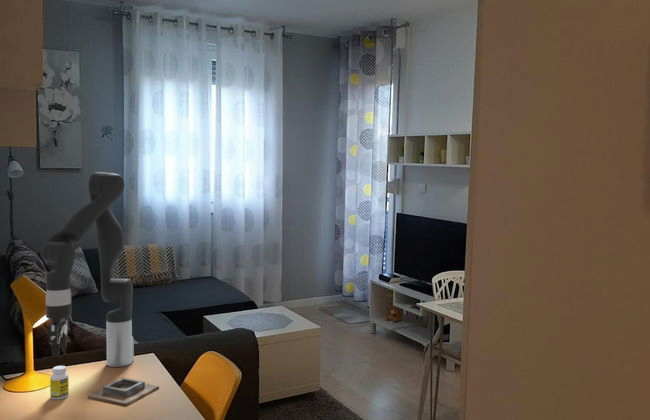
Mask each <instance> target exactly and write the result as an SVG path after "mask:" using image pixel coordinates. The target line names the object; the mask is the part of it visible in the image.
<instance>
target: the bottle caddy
mask: <svg viewBox="0 0 650 420" xmlns="http://www.w3.org/2000/svg"><path fill="white" fill-rule="evenodd" d="M158 389H160V386H159V385H156V384H152V383H151V384H150V383H146V382H145V381H143V380H138V379H133V378H128V377H121V378H119V379H117V380H115V381H113V382H111V383H109V384H106V385H104V386H102V388H100V389H98V390H96V391H94V392H92V393H90V394H88V395H87V399H92V400H96V401H101V402H105V403H106V402H107V403H110V404H116V405H120V406H124V407H127V406H130V404H132V403H134V402H137V401H138V400H140V399H142V398H144V397H145V396H147V395H150V394H152V393H153V392H155V391H157V390H158Z"/></svg>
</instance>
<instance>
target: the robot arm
mask: <svg viewBox="0 0 650 420" xmlns="http://www.w3.org/2000/svg"><path fill="white" fill-rule="evenodd" d="M87 187H88V193H89V198H90V202H89V203H87V204H85V205H84V206H82V207H81V208H79V209H78V210H77V211H75V212H74V213H73V214H71V216H70V217H69V218H68V220H67V221H66V223H64V225H63V227H61V229H59V230H58V231H57V232H55V233H54V234H53V235H52V236H51V237H48V238H49V239H47V240H46V241H45V242H44V243H43V245H42V246H41V249H40V258H41V259H42V261H44V262H45V263H50V264H56V265H55V268H54V269H55V270H54V269H53V270H50V271H48V272H47V273H46V289H45V290H46V292H45V317H46V318H47V319H48V320H52V322H51V324H49V325H48V345H51V346H50V347H51V356H53V357H55V356H56V357H58V356H59V355H60V349H65V348H67V336H68V333H69V331H70V330H69V317H71V316H72V291H71V274H72V271H73V267H74V264H75V259H76V249H75V247H74V244H78V243H80V241H81V240H83V237H84V236H85V235H86V233H87V232H88V231H89V229H90V228H91V227H92V226H93V224H94V223H95V230H96V232H95V233H96V243H97V249H98V250H97V251H98V257H99V265H100V267H99V268H100V292H101V293H100V294H101V297H102V300H103V301H104V302H105V303H112V304H113V303H114V304H115V303H116V304H117V303H118V304H119V303H120V307H118V308H116V309H114V310H110V311H108V312H107V313H106V317H105V318H106V320H105V322H106V323H105V325H106V366H107V367H111V368H119V367H122V368H123V367H126V366H128V365H131V364H132V363H133V361H135V359H134V356H135V352H134V350H135V348H134V347H135V346H134V342H135V341H134V336H133V327H132V326H133V325H132V324H133V322H132V321H133V320H132V319H133V317H132V316H133V294H134V286H133V282H132V279H130V278H113V269H114V267H115V265H116V262H117V261H118V259H119V258H120V256H121V254H122V253H123V250H124V247H125V241H124V240H125V239H124V233H123V227H122V226H121V224H120V223H119V221H118V219H117V218H116V216H115V215H114V214H113V212H112V211H111V208H110V207H111V205H112V204H113V203H115V201H117V200H118V199H119V198H120V196H121V195H122V194H123V192H124V189H125V180H124V178H123V177H122V175H120V174H118V173H115V172H114V173H113V172H104V171H102V172H101V171H94V172H92V173H91V175H90V176H89V179H88V186H87Z"/></svg>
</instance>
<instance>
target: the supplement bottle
mask: <svg viewBox="0 0 650 420" xmlns="http://www.w3.org/2000/svg"><path fill="white" fill-rule="evenodd" d="M49 379H50V380H49V382H50V383H49V384H50V388H49V389H50V391H49V392H50V395H49V396H50V399H52V400H63V399H66V398H67V397H68V396H69V374H68V372H67V366H65V365H56V366H54V367H52V374H51V375H50V378H49Z"/></svg>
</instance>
